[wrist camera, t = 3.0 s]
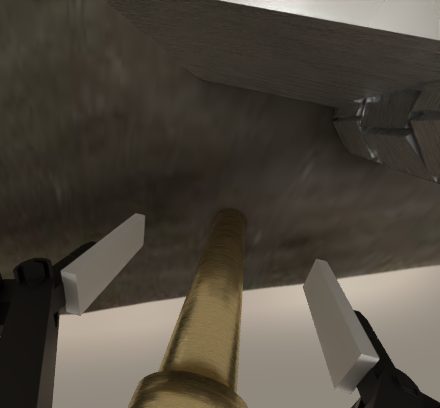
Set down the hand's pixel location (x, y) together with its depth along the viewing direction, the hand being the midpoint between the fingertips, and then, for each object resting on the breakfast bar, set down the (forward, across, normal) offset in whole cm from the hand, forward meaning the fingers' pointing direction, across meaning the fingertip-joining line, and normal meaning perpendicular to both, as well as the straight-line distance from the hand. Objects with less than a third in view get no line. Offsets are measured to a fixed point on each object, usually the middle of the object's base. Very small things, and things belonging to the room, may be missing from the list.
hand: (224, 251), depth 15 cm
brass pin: (+5, 0, 0) cm, 5 cm away
